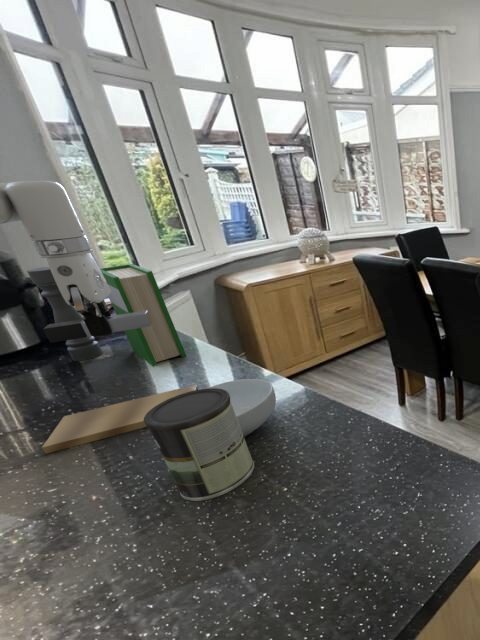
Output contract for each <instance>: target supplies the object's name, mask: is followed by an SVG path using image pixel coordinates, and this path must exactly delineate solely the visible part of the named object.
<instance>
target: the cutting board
mask: <svg viewBox="0 0 480 640" xmlns="http://www.w3.org/2000/svg"><path fill="white" fill-rule="evenodd" d="M195 390H199V387H198V385H197V384H193V385H190V386H185V387H180V388H176V389H172V390H168V391H163V392H159V393H155V394H151V395H147V396H143V397H139V398H135V399H131V400H125V401H122V402H118V403H114V404H110V405H106V406H102V407H97V408H93V409H89V410H85V411H81V412H77V413H72V414H68V415H64V416H63V417H62V418H61V420H60V421H59V423H57V425H56V427H55V428H54V429H53V431H52V432H51V434H50V435H49V437H48V438H47V439H46V441H45V442H44V443H43V444H42V446H41V449H42V451H43V453H44V454H45V455H47V454H51V453H55V452H58V451H63V450H66V449H69V448H73V447H77V446H80V445H85V444H89V443H92V442H95V441H99V440H103V439H107V438H110V437H114V436H118V435H121V434H127V433H129V432H134V431H137V430H141V429H144V428H148V427H147V426H146V424H145V423H144V417H145V415H146V414H147V413H148V412H149V411H150V410H151V409H152V408H153V407H155V406H156V405H158V404H160V403H162V402H164V401H166V400H168V399H170V398H172V397H175V396H177V395H180V394H183V393H187V392H190V391H195Z"/></svg>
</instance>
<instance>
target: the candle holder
mask: <svg viewBox="0 0 480 640" xmlns="http://www.w3.org/2000/svg"><path fill="white" fill-rule="evenodd" d="M26 272H27V274H28V276H29V278H30V280H31V281H32V283H33V284H34V285H36V287H37V288H39V289H40V290H42V292H41V293H40V296H41V297H43V298H45V299H47V302H48V303H49V305H50V307H51V310H52V314H53V319H54V324H55V323H61V322H68V321H74V320H81V319H82V317H81V315H80V313H79V312H77V311H76V310H75V306H70V305H68V304H67V303H66V301H65V299H64V298H63V296H62V294H61V292H60V290H59V288H58V286H57V284H56V282H55V279H54V277H53V275H52V272H51V270H50V267H49V266H44V267H43V266H42V267H38V268H36V267H35V268H31V269H29V270H28V269H27V270H26ZM65 345H66V347H67V349H66V350H67V352H68V354H69V356H70V358H71V359H72V361H73V362H82V361H87V360H91V359H94V358H98V357H100V356H102V355H103V354H104V351H103V349H102V347H101V346H100V343H99V341H98V340H96V338H95V336H90V337H84V338H78V339H72V340H66V341H65Z"/></svg>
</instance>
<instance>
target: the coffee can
mask: <svg viewBox="0 0 480 640" xmlns="http://www.w3.org/2000/svg"><path fill="white" fill-rule="evenodd" d="M207 388H208V389H206V388H201V389H198V390H195V391H190V392H187V393H183V394H180V395H177V396H175V397H172V398H170V399H168V400H166V401H164V402H162V403H160V404H158V405H156V406H155V407H153V408H152V409H151V410H150V411H149V412H148V413H147V414H146V415H145V417H144V423H145V424H146V426H147V427H146V428H148V430H149V432H150V434H151V437H152V438H153V440H154V442H155V444H156V446H157V449H158V450H159V453H160V454H161V456H162V458H163V460H164V463H165V465H166V467H167V468H168V471H169V472H170V475H171V476H172V479H173V481H174V483H175V485H176V487H177V489H178V491H179V494H180V496H181V497H182V498H183V499H184V500H186V501H190V502H203V501H208V500H212V499H214V498H218V497H221V496H223V495H225V494H227V493H230V492H231V491H233V490H235V489H236V488H238V487H240V486H241V485H242V484H243V483H244V482H245V481H246V480H247V479H249V477H250V476H251V475H252V473H253V471H254V469H255V462H254V460H253V458H252V455H251V453H250V450H249V447H248V445H247V442H246V439H245V437H244V436H243V433H242V431H241V428H240V425H239V423H238V420H237V417H236V415H235V412H234V409H233V406H232V404H231V401H230V395H229V393H228V392H227V391H226V390H223V389H218V388H209V387H207Z"/></svg>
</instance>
